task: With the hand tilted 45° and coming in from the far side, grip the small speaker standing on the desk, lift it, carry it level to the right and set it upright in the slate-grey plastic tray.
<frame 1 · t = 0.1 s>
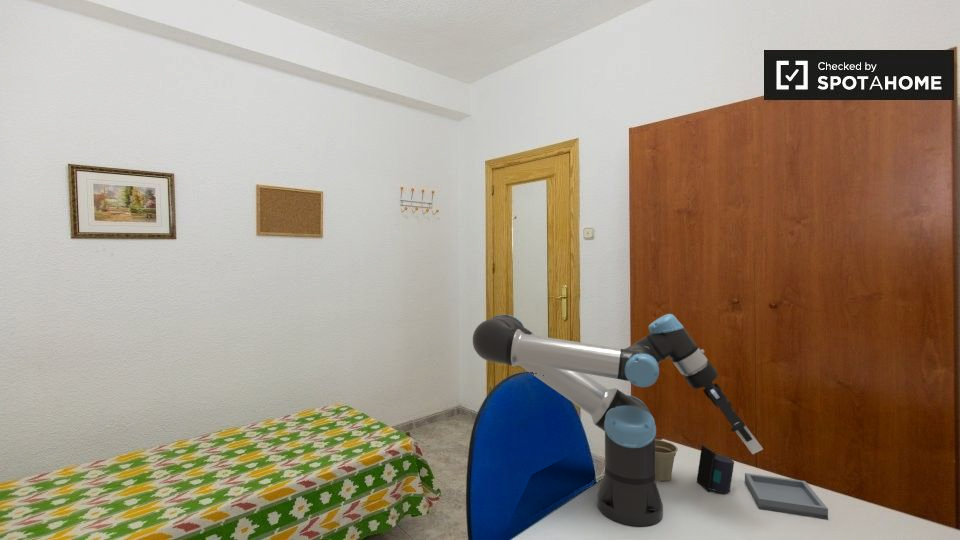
hand: (749, 440, 111), 15 cm above the table, tool tilted 35°, fingers open, 13 cm apart
flower pot: (659, 477, 124), on the table
tray: (783, 499, 112), on the table
speaker: (716, 488, 117), on the table
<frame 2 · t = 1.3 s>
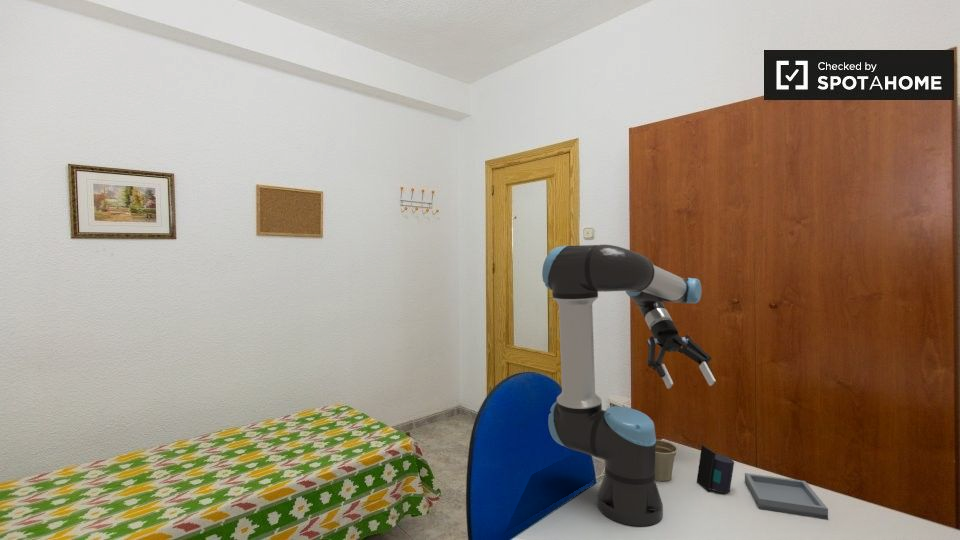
hand: (691, 384, 127), 25 cm above the table, tool tilted 45°, fingers open, 13 cm apart
nothing on the table moved.
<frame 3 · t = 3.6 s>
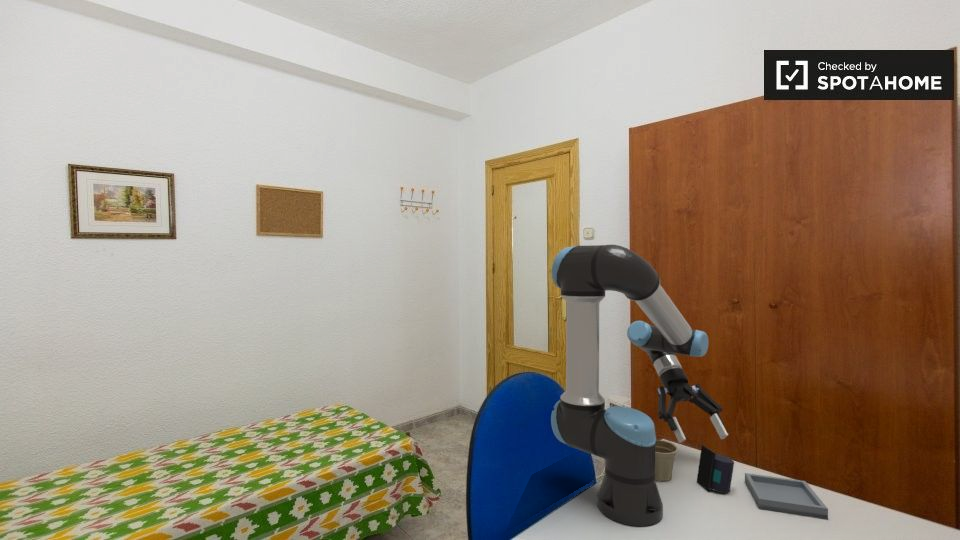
hand: (703, 439, 124), 10 cm above the table, tool tilted 45°, fingers open, 13 cm apart
nothing on the table moved.
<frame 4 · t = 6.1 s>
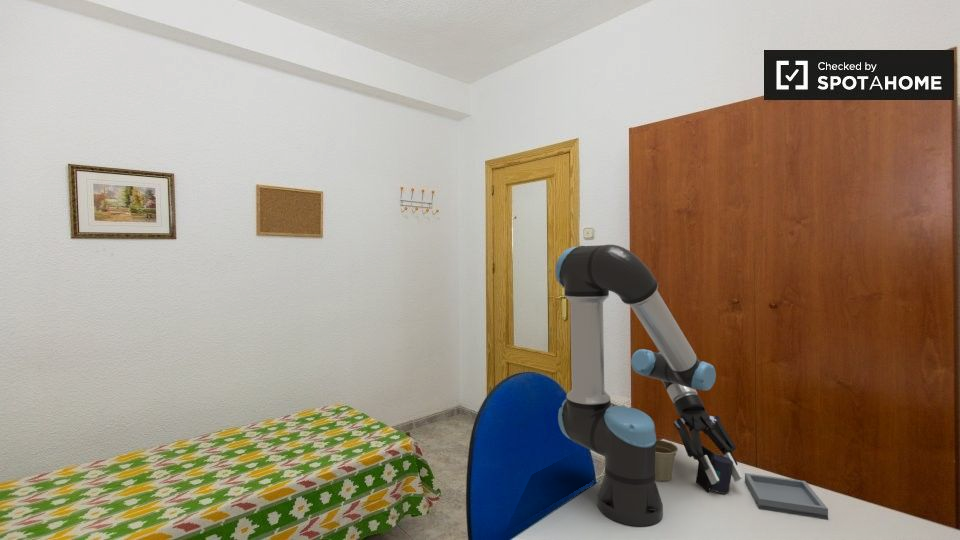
hand: (727, 480, 114), 4 cm above the table, tool tilted 45°, fingers closed on speaker, 6 cm apart
speaker: (715, 488, 117), on the table, touching gripper
everything else where it was.
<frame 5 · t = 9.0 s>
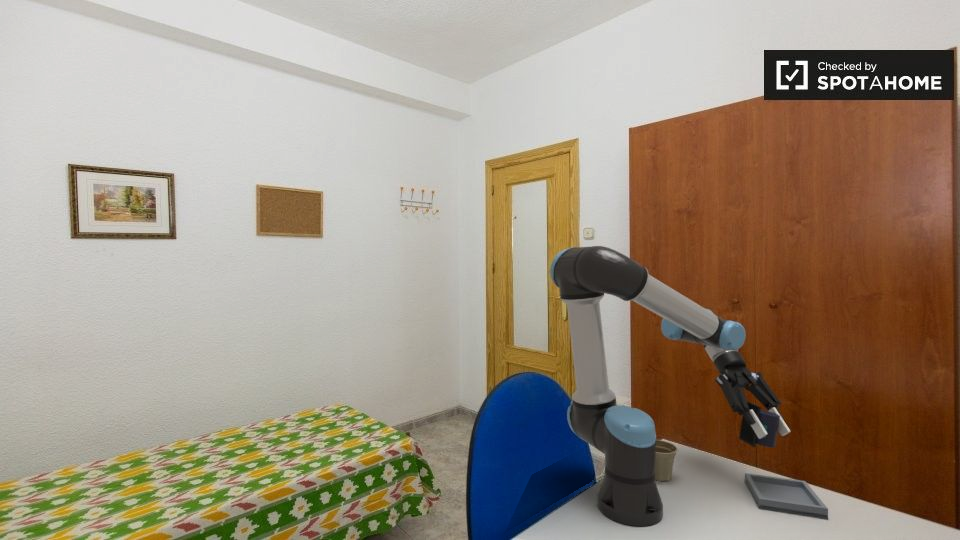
hand: (774, 434, 111), 17 cm above the table, tool tilted 45°, fingers closed on speaker, 6 cm apart
speaker: (760, 444, 114), point 13 cm above the table, touching gripper
everything else where it was.
when the fingers open (6 cm above the table, at t = 11.7 s): speaker drops 1 cm, resting on tray.
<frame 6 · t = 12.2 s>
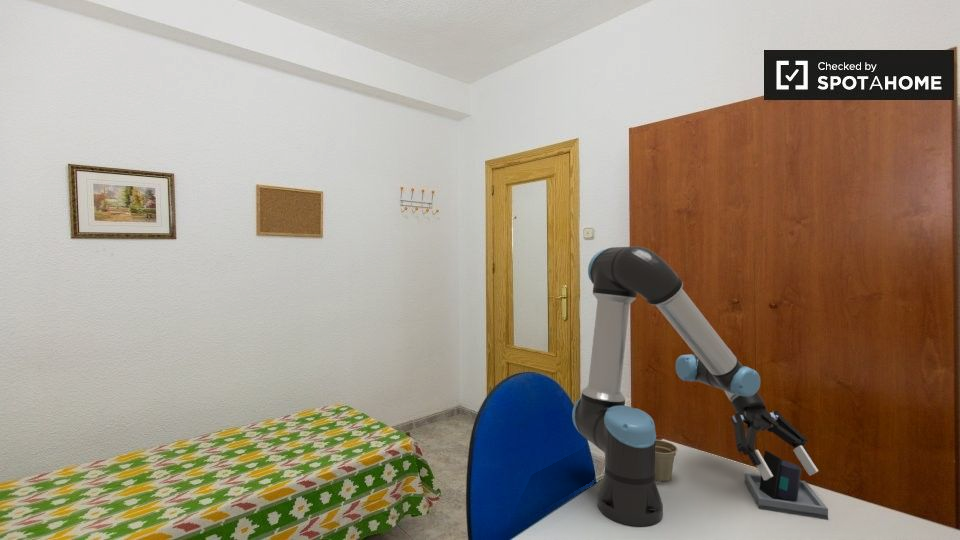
hand: (791, 476, 109), 7 cm above the table, tool tilted 45°, fingers open, 13 cm apart
speaker: (781, 496, 111), point 1 cm above the table, touching tray
everything else where it was.
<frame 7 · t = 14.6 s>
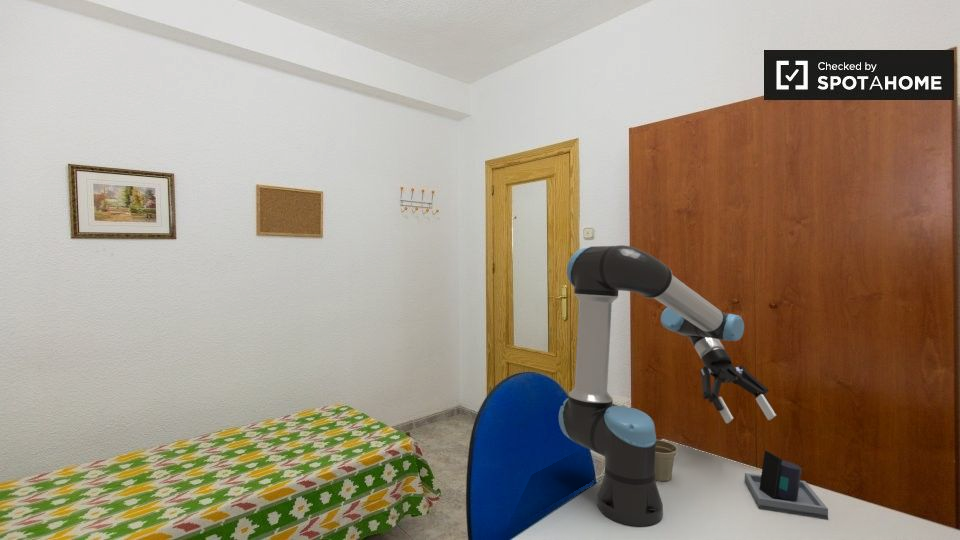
hand: (751, 419, 121), 17 cm above the table, tool tilted 45°, fingers open, 13 cm apart
nothing on the table moved.
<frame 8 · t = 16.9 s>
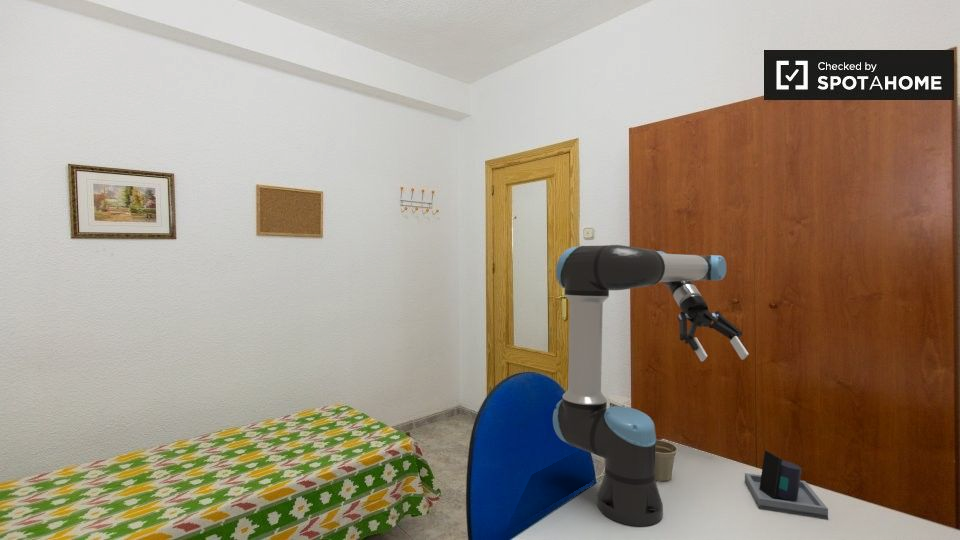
hand: (725, 358, 127), 33 cm above the table, tool tilted 45°, fingers open, 13 cm apart
nothing on the table moved.
at the end: speaker inside the target area on the tray (0.4 cm from its centre), point 0.8 cm above the tray's base; speaker tilted 1°; the gripper is holding nothing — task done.
